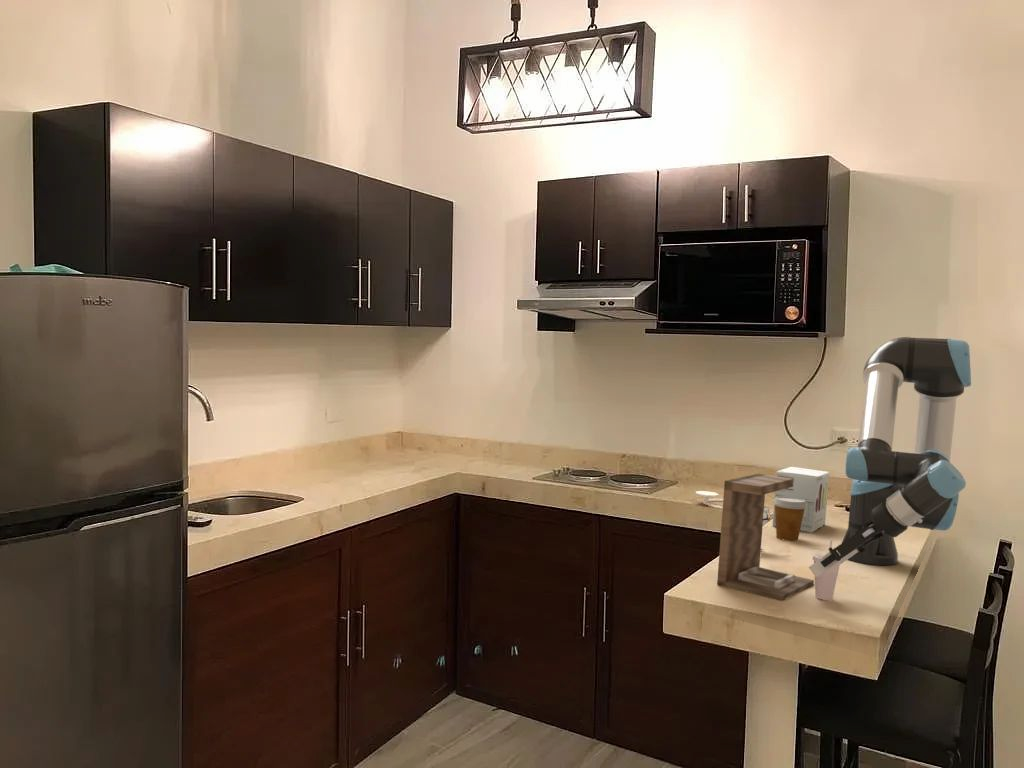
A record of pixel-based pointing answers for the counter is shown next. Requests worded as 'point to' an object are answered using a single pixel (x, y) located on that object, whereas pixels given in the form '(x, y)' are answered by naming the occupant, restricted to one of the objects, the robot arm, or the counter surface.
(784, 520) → the disposable coffee cup
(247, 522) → the counter surface
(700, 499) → the counter surface
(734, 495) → the overhang shelf
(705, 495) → the hand towel holder
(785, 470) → the supplement box
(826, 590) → the smoothie
